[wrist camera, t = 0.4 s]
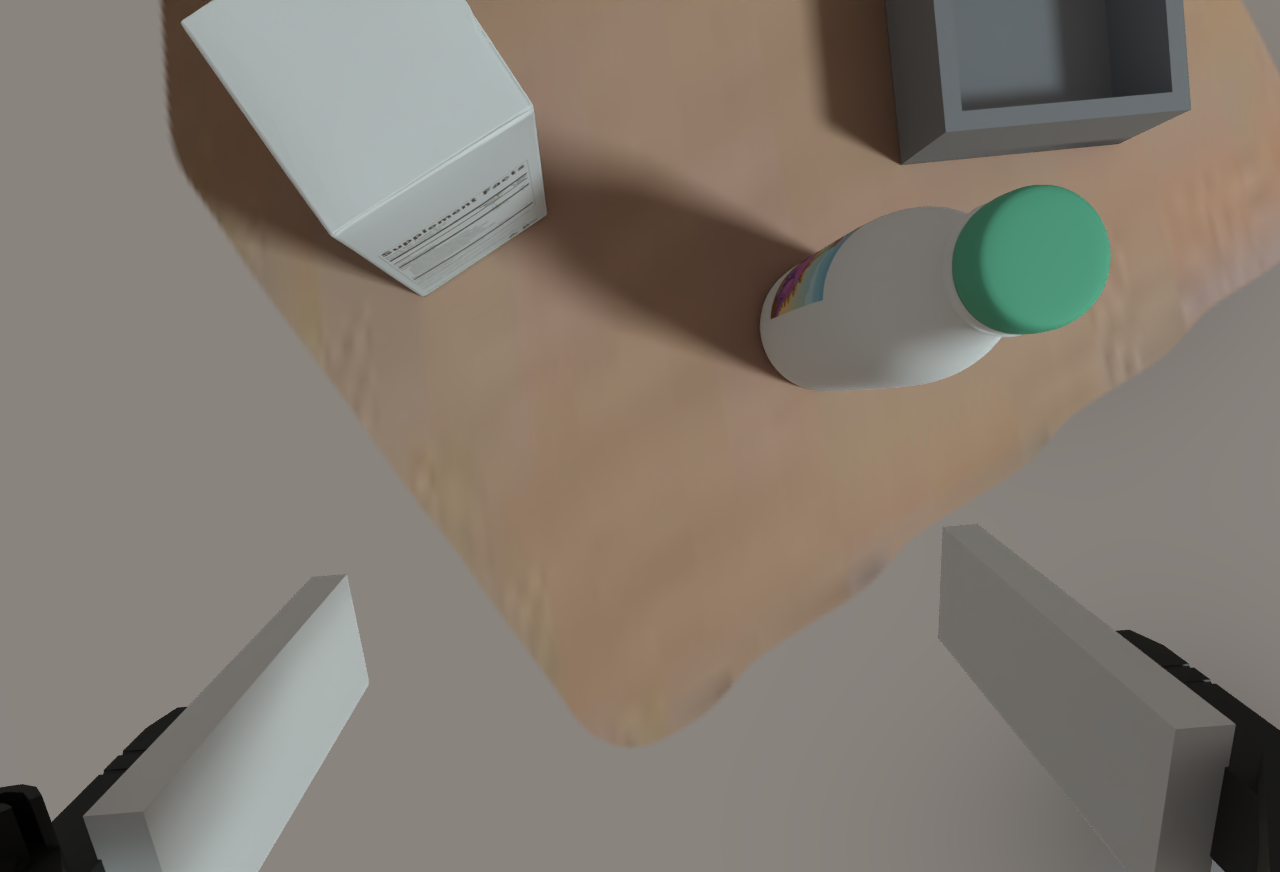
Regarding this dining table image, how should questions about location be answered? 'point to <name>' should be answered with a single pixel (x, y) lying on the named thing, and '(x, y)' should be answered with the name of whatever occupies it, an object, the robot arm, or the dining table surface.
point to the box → (1032, 74)
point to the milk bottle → (934, 290)
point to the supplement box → (385, 123)
